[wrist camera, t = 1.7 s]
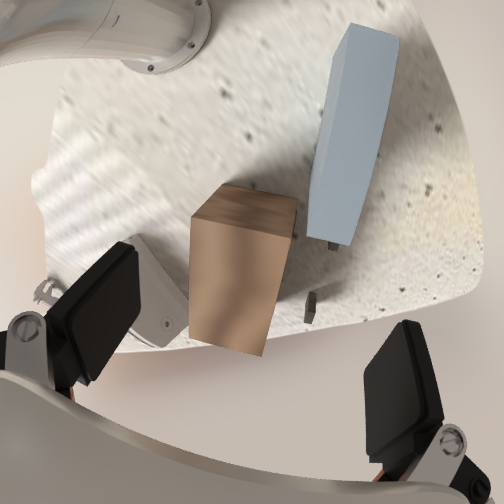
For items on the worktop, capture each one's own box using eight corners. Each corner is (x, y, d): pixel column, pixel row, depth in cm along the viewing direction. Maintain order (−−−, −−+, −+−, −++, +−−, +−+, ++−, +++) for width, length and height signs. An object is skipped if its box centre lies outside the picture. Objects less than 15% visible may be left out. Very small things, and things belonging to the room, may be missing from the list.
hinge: (201, 315, 46) (164, 362, 39) (185, 316, 49) (150, 359, 43) (136, 231, 40) (86, 274, 34) (124, 238, 43) (79, 278, 37)
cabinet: (212, 289, 43) (188, 337, 34) (222, 184, 34) (191, 217, 26) (309, 311, 41) (305, 365, 33) (342, 209, 33) (351, 252, 24)
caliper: (46, 280, 52) (28, 297, 47) (46, 278, 52) (29, 294, 47) (114, 339, 56) (100, 359, 51) (116, 337, 56) (101, 358, 50)
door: (310, 176, 32) (306, 236, 19) (333, 56, 25) (350, 22, 12) (345, 185, 31) (366, 250, 19) (371, 66, 24) (418, 44, 11)
